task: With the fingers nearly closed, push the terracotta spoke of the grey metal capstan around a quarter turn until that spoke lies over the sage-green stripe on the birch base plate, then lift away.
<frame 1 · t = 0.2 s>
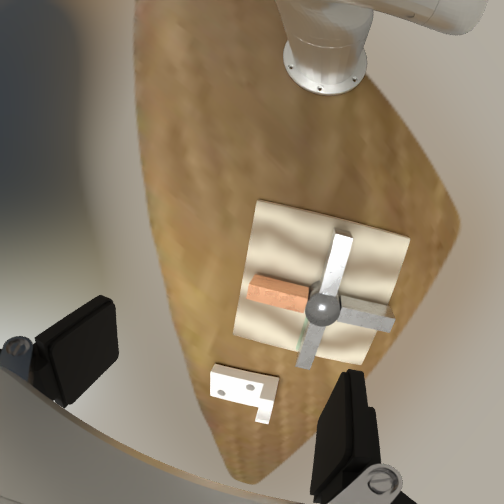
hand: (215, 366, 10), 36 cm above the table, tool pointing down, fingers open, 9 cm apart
base plate: (316, 288, 47), on the table
capstan: (322, 302, 42), point 5 cm above the table, hinge at 0.0°
bracket: (246, 380, 56), on the table
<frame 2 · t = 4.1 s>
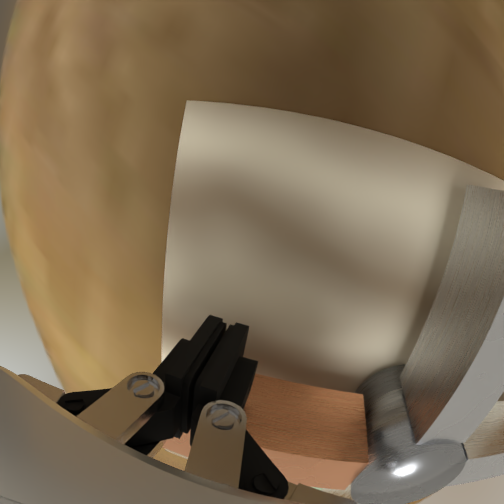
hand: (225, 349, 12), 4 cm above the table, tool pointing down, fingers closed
base plate: (375, 377, 14), on the table
capstan: (402, 437, 10), point 5 cm above the table, hinge at 1.3°, touching gripper
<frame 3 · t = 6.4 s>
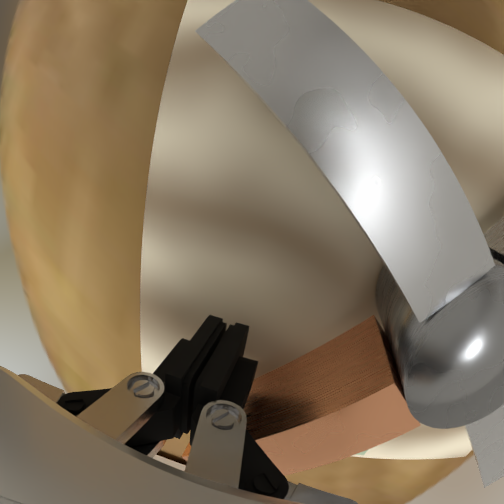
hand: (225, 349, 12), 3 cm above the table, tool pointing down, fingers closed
base plate: (400, 270, 12), on the table
capstan: (454, 319, 8), point 5 cm above the table, hinge at 49.1°, touching gripper
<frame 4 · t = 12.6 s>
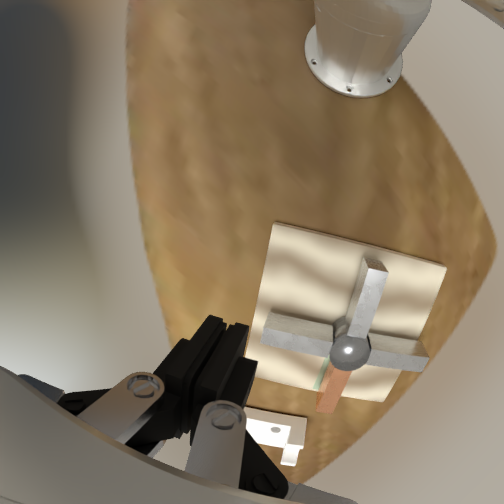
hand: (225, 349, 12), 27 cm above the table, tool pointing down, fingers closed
base plate: (339, 324, 39), on the table
capstan: (348, 343, 35), point 5 cm above the table, hinge at 91.4°
bracket: (269, 419, 48), on the table
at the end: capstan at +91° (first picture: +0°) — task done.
